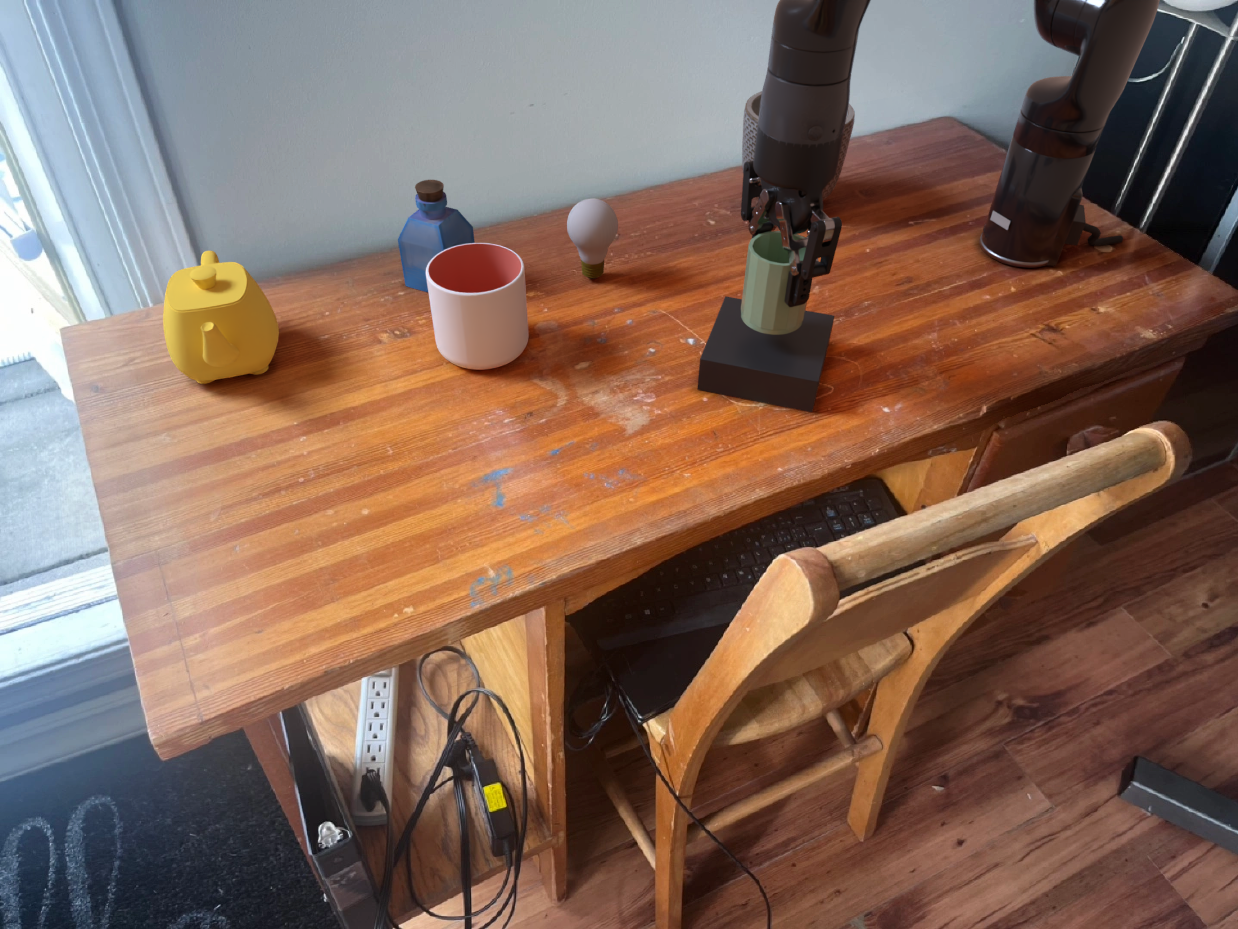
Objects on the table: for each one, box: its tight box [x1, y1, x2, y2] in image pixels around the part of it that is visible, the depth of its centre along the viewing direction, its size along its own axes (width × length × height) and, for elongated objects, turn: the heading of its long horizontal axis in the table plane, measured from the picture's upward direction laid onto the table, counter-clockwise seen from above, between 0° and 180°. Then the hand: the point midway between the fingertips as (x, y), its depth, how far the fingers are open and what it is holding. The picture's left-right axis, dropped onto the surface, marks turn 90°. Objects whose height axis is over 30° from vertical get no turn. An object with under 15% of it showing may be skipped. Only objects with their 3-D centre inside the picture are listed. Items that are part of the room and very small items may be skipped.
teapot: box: [162, 250, 280, 385], centre depth 97 cm, size 18×11×11 cm, turn 18°
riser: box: [697, 296, 835, 413], centre depth 100 cm, size 12×12×4 cm
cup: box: [426, 242, 530, 371], centre depth 99 cm, size 10×10×10 cm
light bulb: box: [566, 198, 619, 280], centre depth 110 cm, size 6×6×10 cm
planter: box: [741, 90, 856, 201], centre depth 123 cm, size 14×14×13 cm
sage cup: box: [741, 230, 808, 335], centre depth 94 cm, size 6×6×8 cm
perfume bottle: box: [397, 179, 476, 293], centre depth 108 cm, size 6×6×12 cm
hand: (776, 284), depth 94 cm, fingers closed on sage cup, 6 cm apart
